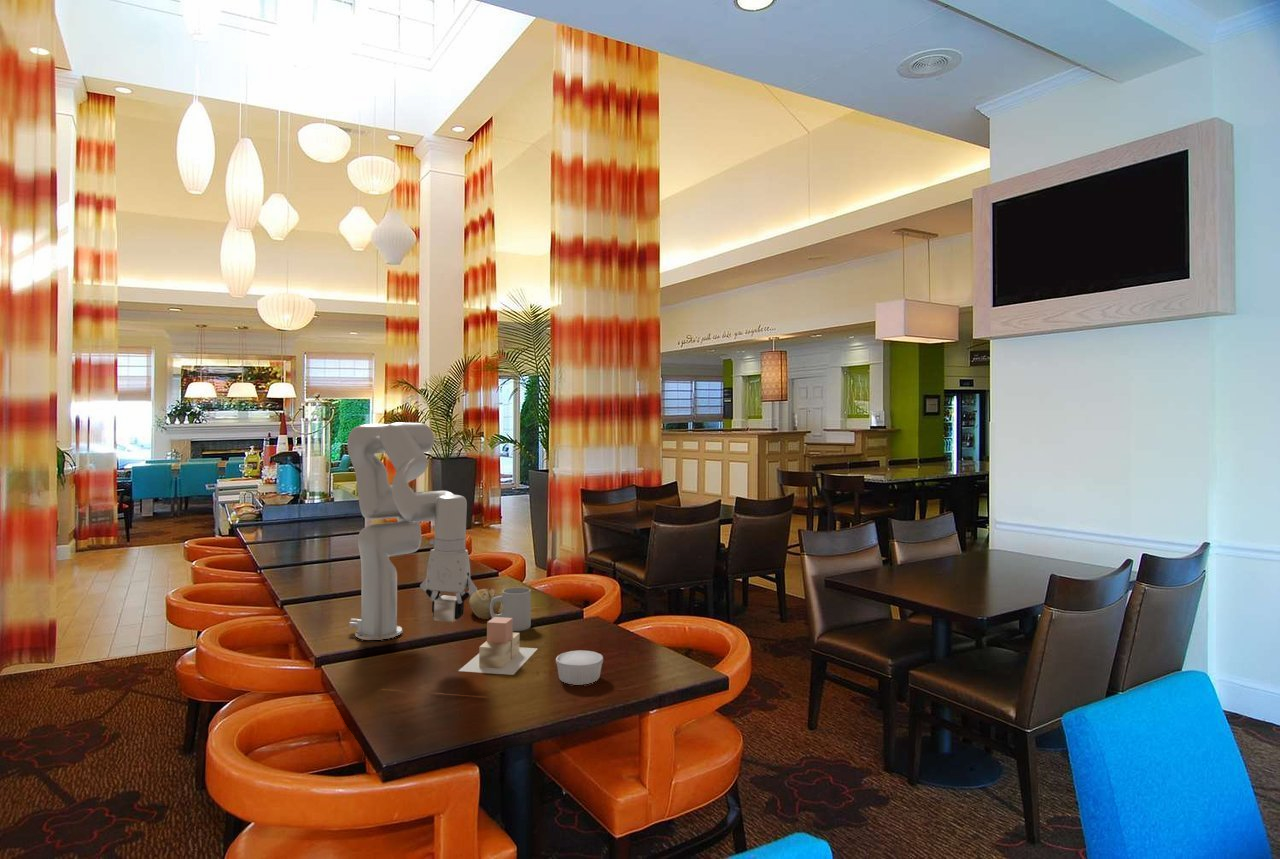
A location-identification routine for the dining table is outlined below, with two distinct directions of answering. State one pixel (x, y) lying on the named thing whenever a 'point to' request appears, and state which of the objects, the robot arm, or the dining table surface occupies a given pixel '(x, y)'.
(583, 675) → the ramekin
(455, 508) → the robot arm
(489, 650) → the maple block
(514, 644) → the maple block
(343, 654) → the dining table surface
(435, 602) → the birch cube
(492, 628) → the terracotta cube
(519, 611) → the mug
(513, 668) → the felt mat
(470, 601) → the bread roll
